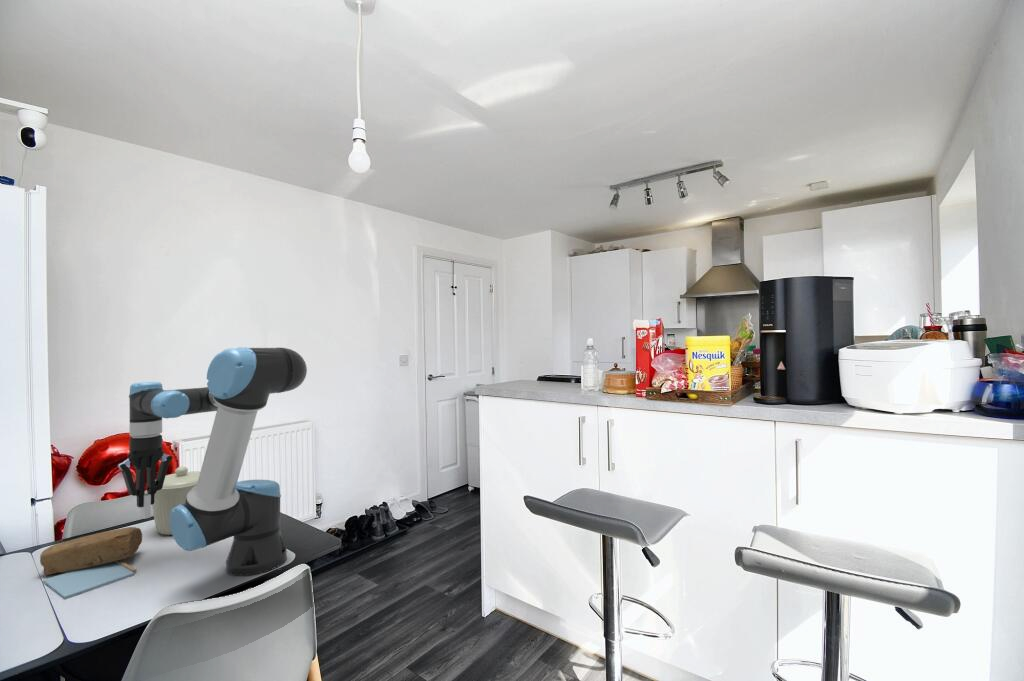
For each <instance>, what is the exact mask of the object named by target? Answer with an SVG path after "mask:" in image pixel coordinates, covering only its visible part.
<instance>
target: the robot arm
mask: <svg viewBox="0 0 1024 681" xmlns="http://www.w3.org/2000/svg"><path fill="white" fill-rule="evenodd" d="M307 367H308V366H307V364H306V361H305V360H304V358H303V356H302V355H300V354H299V353H298V352H296V351H295V350H293V349H291V348H286V347H246V346H242V347H241V346H240V347H234V348H233V347H232V348H225V349H224V350H222V351H220V352H218V353H216V355H215V356H213V358H212V360H211V361H210V363H209V366H208V368H207V372H206V380H208V381H207V383H206V386H205V387H197V388H196V387H195V388H193V387H192V388H181V389H179V388H178V389H167V390H166V389H163V384H162V383H161V381H143V382H134V383H132V384H130V388H129V394H128V398H129V436H130V438H129V441H128V445H129V447H128V452H129V453H128V455H127V456H126V458H127V459H125V460H123V462H118V464H117V465H116V466H117V468H118V469H119V470H120V471H121V474H122V476H123V480H124V484H125V487H126V489H127V493H128V494H129V496H130V495H131V496H133V497H135V496H136V507H137V508H139V509H140V518H142V519H145V520H146V519H149V518H151V516H152V514H151V513H152V506H151V505H152V504H154V495H155V493H156V491H158V490H161V489H162V487H163V484H164V480H165V476H166V475H167V471H168V468H169V465H170V463H171V462H172V460H173V458H174V457H173V455H169V454H166V453H164V449H163V435H162V433H163V419H175V418H179V417H181V416H187V415H194V414H203V413H210V412H216V413H215V416H214V421H213V424H212V427H211V431H210V434H209V439H208V443H207V445H206V448H205V449H206V450H205V454H204V457H203V460H202V461H203V462H202V466H201V469H200V471H199V472H200V476H199V479H198V483H197V486H195V487H193V488H192V489H191V490H190V491H189V492H188V494H187V497H186V501H185V503H184V504H183V505H178V506H177V507H175V508H173V509H172V511H171V513H170V528H171V532H172V535H171V536H172V537H173V539H174V542H176V544H177V546H178V547H180V549H182V550H183V551H186V552H191V551H196V550H199V549H204V548H206V547H208V546H210V545H213V544H216V543H219V542H221V541H225V540H227V539H229V538H232V537H233V540H232V543H231V546H230V549H229V551H228V556H227V557H226V562H225V570H226V572H227V573H228V574H230V575H233V576H252V575H258V574H262V573H265V571H266V572H268V571H267V570H269V571H271V570H273V569H272V568H274V567H276V568H278V567H279V566H281V565H282V564H284V563H285V562H286V560H287V557H288V555H287V554H288V551H287V550H288V549H287V547H286V544H285V542H284V538H283V536H282V533H281V497H282V495H281V486H280V484H279V482H277V481H275V480H270V479H248V480H239V477H240V475H241V470H242V467H243V463H244V460H245V456H246V452H247V449H248V447H249V441H250V439H251V435H252V431H253V429H254V425H255V422H256V418H257V415H258V414H257V413H258V411H260V410H262V409H264V408H265V407H266V406H267V402H268V400H269V397H270V395H271V394H281V393H285V392H289V391H293V390H295V389H297V388H299V387H300V386H301V385H302V384H303V383H304V381H305V379H306V377H307V373H308V369H307ZM159 461H160V464H159V467H158V471H157V473H156V470H157V464H158V463H159ZM131 465H132V466H133V467H134V468H135V481H134V477H133V474H132V471H131V469H130V468H131ZM145 479H146V480H145ZM155 480H156V481H155ZM145 485H146V486H145ZM145 488H146V489H145ZM145 491H146V492H145ZM284 561H285V562H284ZM283 562H284V563H283ZM278 565H279V566H278ZM277 566H278V567H277ZM270 569H271V570H270ZM274 569H275V568H274ZM261 572H262V573H261Z"/></svg>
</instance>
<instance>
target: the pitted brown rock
mask: <svg viewBox="0 0 1024 681" xmlns="http://www.w3.org/2000/svg"><path fill="white" fill-rule="evenodd" d="M142 542H143V533H142V529H141V528H140V527H135V526H129V527H121V528H116V529H111V530H108V531H102V532H96V533H93V534H89V535H86V536H80V537H77V538H73V539H70V540H67V541H63V542H60V543H59V542H58V543H55V544H53V545H51V546H49V547H47V548H46V549H44V550H42V552H41V553H40V556H39V558H40V559H39V560H40V561H39V562H40V566H41V567H43V574H44V575H49V576H50V575H53V574H58V573H60V574H64V573H67V572H71V571H74V570H79V569H84V568H88V567H93V566H97V565H101V564H106V563H110V562H114V561H118V560H121V561H122V560H124V559H128V558H130V557H132V556H134V555H135V553H137V551H138V550H139V548H140V546H141V544H142Z"/></svg>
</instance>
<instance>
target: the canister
mask: <svg viewBox="0 0 1024 681" xmlns="http://www.w3.org/2000/svg"><path fill="white" fill-rule="evenodd" d="M200 472H201V471H189V468H188V467H186V466H179V467H177V468H175V470H174V473H171V474H166V476H165V480H164V484H163V487H162V489H161V490H158V491H156V493H155V495H154V504H152V506H151V508H152V512H153V513H152V514H153V518H154V519H153V520H154V526H155V529H156V531H157V532H158V533H159V534H161V535H166V536H173V535H172V532H171V528H170V513H171V511H172V509H173V508H175V507H177V506H178V505H183V504H184V503H185V501H186V497H187V494H188V492H189V491H190V490H191V489H192V488H193V487H195V486H197V483H198V479H199V476H200ZM155 481H156V479H155Z"/></svg>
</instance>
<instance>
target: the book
mask: <svg viewBox="0 0 1024 681" xmlns="http://www.w3.org/2000/svg"><path fill="white" fill-rule="evenodd" d="M135 574H137V569H136V568H134V567H133V566H131V565H129V564H128V563H126V562H124V561H122V559H121V560H118V561H114V562H110V563H106V564H101V565H97V566H93V567H88V568H84V569H79V570H73V571H69V572H63V573H60V574H57V575H55V576H52V577H49V578H45V579H43V580H42V583H43V582H44V583H46V584H47V585H48V586H49V587H48V586H47V585H46V584H45V585H46V586H47V587H48V588H49V589H51V588H52V589H53V590H54V591H53V590H52V589H51V590H52V591H53V592H55V593H56V594H57V593H58V594H59V595H58V594H57V595H58V596H59V597H61V598H62V599H63V600H66V599H69V597H70V598H72V596H73V597H75V596H78V595H81V594H83V593H84V594H85V593H87V592H89V591H90V592H91V591H92V590H95V588H96V589H98V588H100V587H104V586H107V585H110V584H113V583H116V582H119V581H121V580H124V579H126V578H129V577H133V576H135ZM44 583H43V584H44Z"/></svg>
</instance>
